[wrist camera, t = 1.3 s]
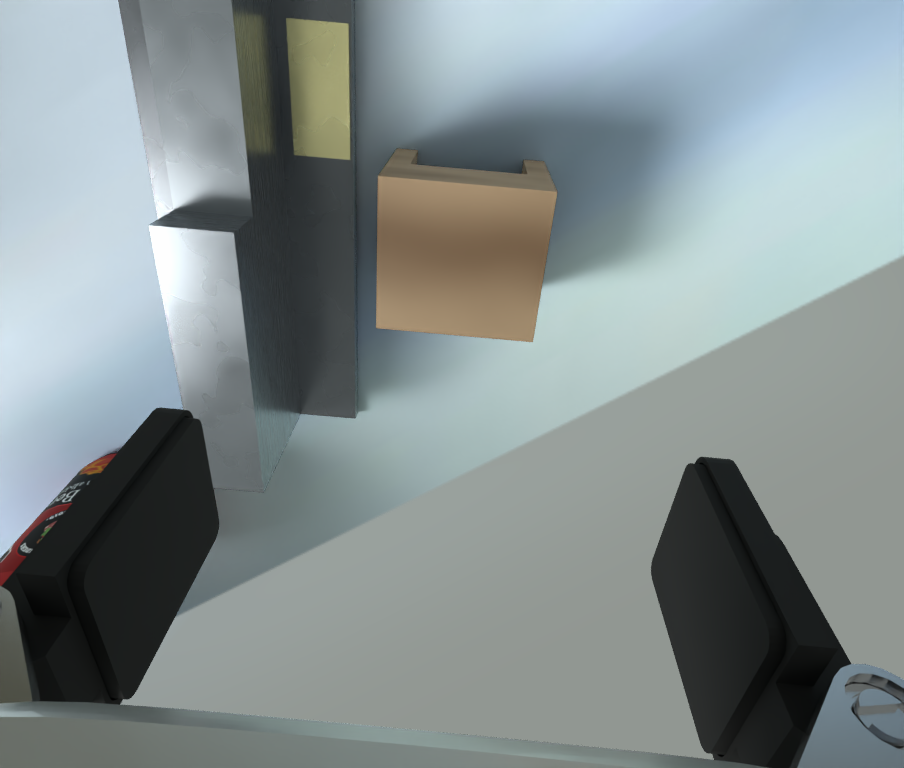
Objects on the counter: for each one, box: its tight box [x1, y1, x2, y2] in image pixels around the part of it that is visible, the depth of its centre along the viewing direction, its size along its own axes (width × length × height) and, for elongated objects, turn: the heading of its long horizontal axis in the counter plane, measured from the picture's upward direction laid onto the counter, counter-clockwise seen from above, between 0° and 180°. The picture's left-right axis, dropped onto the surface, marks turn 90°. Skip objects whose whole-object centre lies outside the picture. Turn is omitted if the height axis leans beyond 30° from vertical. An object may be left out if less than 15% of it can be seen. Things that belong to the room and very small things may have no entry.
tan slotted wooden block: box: [376, 148, 557, 342], centre depth 25 cm, size 6×6×6 cm
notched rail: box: [118, 0, 358, 492], centre depth 24 cm, size 24×9×7 cm, turn 176°
